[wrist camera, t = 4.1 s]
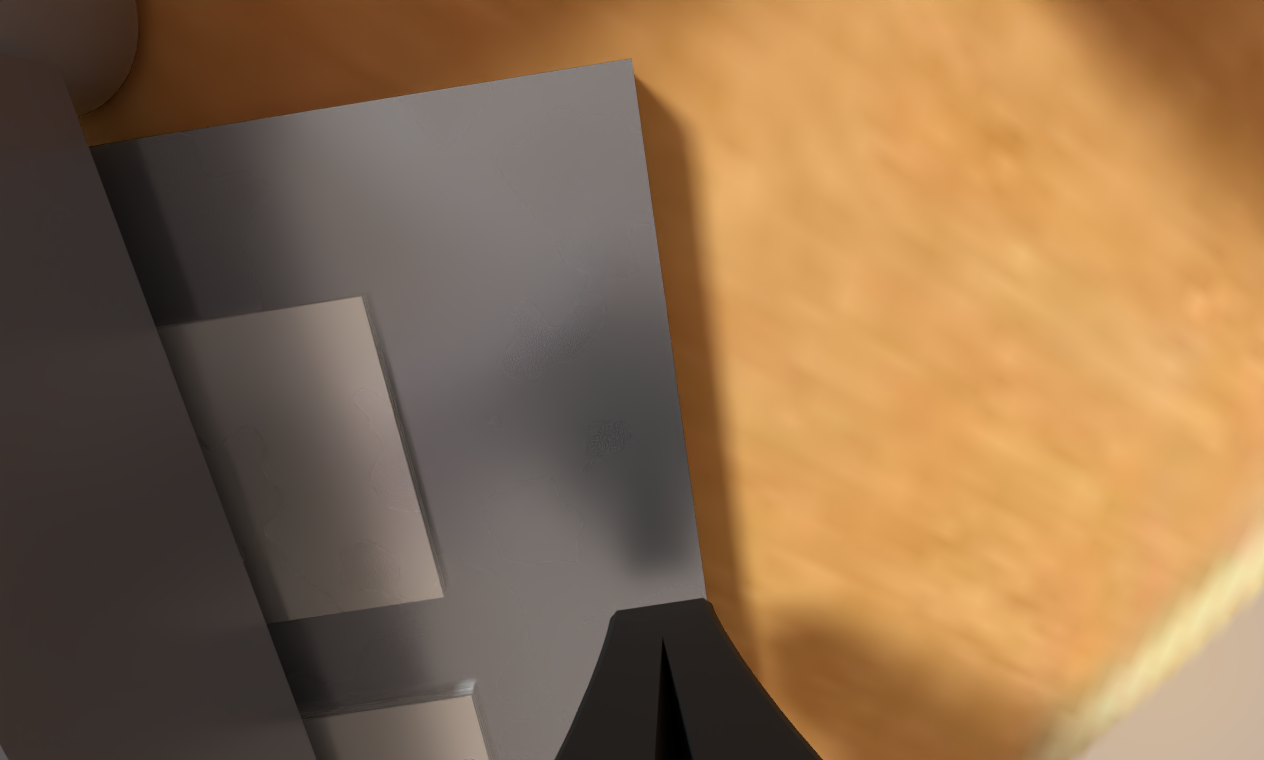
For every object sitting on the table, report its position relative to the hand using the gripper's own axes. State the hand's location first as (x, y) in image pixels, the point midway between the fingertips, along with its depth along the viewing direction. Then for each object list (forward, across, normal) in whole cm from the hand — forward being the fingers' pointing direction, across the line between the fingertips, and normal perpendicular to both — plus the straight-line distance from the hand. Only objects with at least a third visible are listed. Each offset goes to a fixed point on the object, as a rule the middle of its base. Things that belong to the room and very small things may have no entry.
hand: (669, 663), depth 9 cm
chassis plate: (+3, +7, 0) cm, 8 cm away
